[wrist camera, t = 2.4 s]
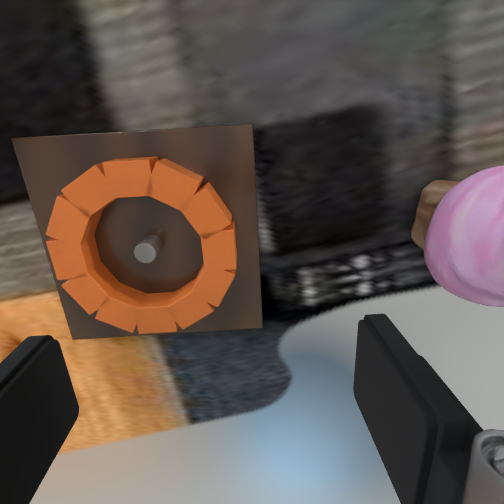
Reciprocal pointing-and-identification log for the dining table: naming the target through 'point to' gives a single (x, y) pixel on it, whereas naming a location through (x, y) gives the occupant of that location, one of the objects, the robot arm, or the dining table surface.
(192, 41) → the dining table surface
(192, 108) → the dining table surface
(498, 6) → the dining table surface
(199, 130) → the board
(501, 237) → the cupcake
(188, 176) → the ring
